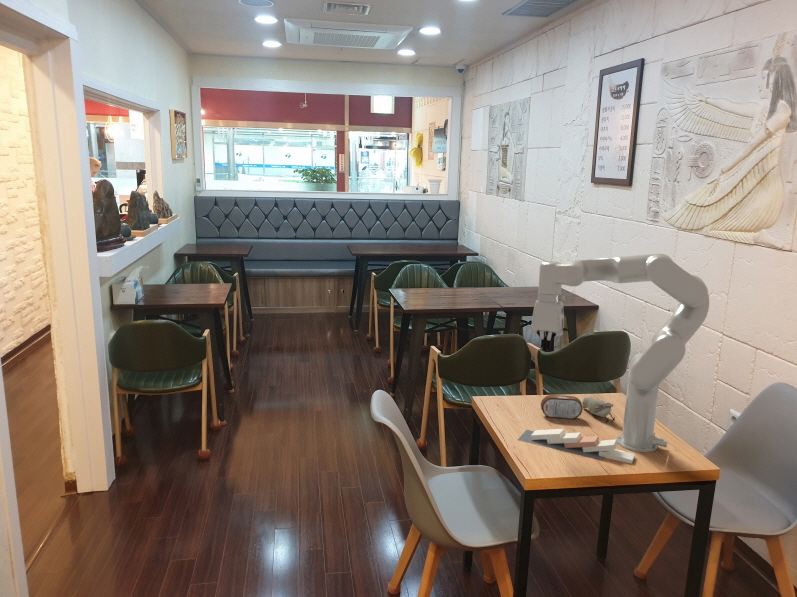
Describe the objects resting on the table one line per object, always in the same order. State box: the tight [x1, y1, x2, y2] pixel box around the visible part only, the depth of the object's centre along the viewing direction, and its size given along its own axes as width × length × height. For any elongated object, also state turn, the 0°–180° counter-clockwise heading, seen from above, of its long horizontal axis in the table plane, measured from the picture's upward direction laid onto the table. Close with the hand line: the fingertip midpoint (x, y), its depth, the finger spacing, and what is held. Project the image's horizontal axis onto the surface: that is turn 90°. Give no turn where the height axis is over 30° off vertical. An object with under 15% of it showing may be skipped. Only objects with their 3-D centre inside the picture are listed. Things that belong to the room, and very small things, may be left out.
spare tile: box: [564, 435, 600, 448], centre depth 195 cm, size 2×5×10 cm
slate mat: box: [517, 429, 606, 461], centre depth 199 cm, size 28×10×1 cm, turn 60°
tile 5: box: [599, 448, 636, 465], centre depth 190 cm, size 2×5×10 cm
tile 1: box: [531, 428, 566, 440], centre depth 201 cm, size 2×5×10 cm
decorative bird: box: [581, 395, 616, 424], centre depth 224 cm, size 5×16×8 cm, turn 21°
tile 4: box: [582, 438, 619, 452], centre depth 192 cm, size 2×5×10 cm
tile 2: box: [547, 432, 582, 444], centre depth 198 cm, size 2×5×10 cm
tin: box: [540, 394, 583, 420], centre depth 222 cm, size 15×3×8 cm, turn 84°
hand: (545, 350), depth 206 cm, fingers closed
